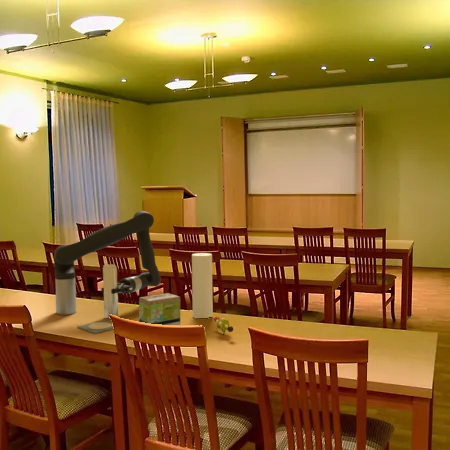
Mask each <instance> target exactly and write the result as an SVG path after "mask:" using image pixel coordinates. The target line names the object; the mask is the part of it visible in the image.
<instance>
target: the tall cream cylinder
mask: <svg viewBox="0 0 450 450" xmlns="http://www.w3.org/2000/svg"><path fill="white" fill-rule="evenodd" d="M102 266H103V267H102V278H103V279H102V280H103V282H102V283H103V286H102V288H104V293H103V309H104V313H103V314H104V317H105V318H104V319H106V318H109V314H112V315H116V316H118V317H119V296H118V295H119V293H115V294H112V289H115V288H117V283H118V266H116V264H112V263H111V264H109V263H108V264H104V265H102ZM108 320H111V319H110V318H109V319H108Z"/></svg>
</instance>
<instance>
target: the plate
mask: <svg viewBox="0 0 450 450" xmlns="http://www.w3.org/2000/svg"><path fill="white" fill-rule="evenodd" d="M111 322H112V321H109V320H108V319H106V320H105V319H103V320H99V321H95V322H91V323H86V324H82V325H78V326H77V329H80V330H83V331H86V332H89V333H92V334H94V335H95V334H100V333H104V332H108V330H109V331H111V329H113V326H112V323H111ZM113 330H114V329H113Z"/></svg>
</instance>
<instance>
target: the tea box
mask: <svg viewBox="0 0 450 450" xmlns="http://www.w3.org/2000/svg"><path fill="white" fill-rule="evenodd" d="M138 299H139V300H138V303H139V305H138V306H139V307H138V313H139V314H138V317H139V318H138V323H139V322H145V323H151V324H162V325H180V326H181V296H178V295H176V294H172V293H170V292H166V293H160V294H156V295H147V296H140V297H139V298H138Z"/></svg>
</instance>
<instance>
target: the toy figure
mask: <svg viewBox="0 0 450 450" xmlns="http://www.w3.org/2000/svg"><path fill="white" fill-rule="evenodd" d="M213 321H214V322H215V323H216V329H218V330H220V331H221V333H222V332H223V334H225V335H226V331H227V332H229V333H232V332H234V327H233V326H231V325H230V324H231V323H230V321H229V320H228V318H226V317H219V316H215V317H214V320H213Z"/></svg>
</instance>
